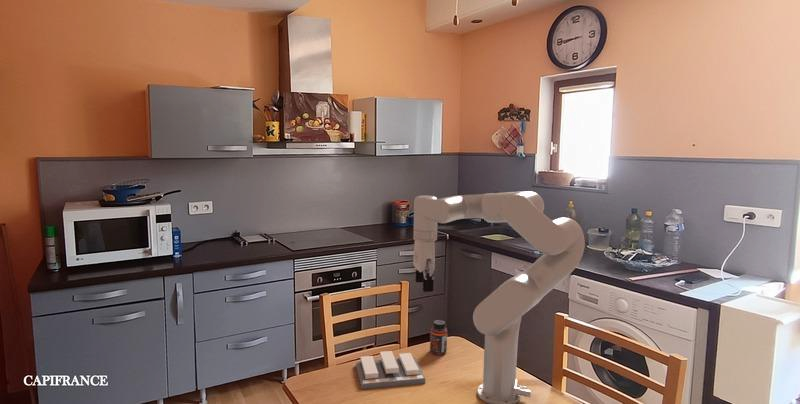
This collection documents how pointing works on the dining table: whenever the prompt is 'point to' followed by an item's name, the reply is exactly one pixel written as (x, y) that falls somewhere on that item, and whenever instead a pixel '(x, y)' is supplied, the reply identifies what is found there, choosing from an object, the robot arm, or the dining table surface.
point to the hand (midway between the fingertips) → (424, 286)
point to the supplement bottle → (438, 338)
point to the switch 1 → (369, 367)
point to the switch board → (388, 376)
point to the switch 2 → (408, 364)
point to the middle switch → (389, 362)
